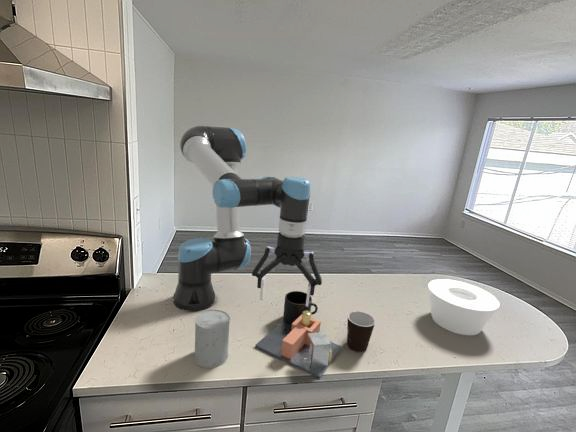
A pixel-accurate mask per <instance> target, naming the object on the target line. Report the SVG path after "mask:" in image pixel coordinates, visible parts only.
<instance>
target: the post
mask: <svg viewBox="0 0 576 432" xmlns="http://www.w3.org/2000/svg"><path fill="white" fill-rule="evenodd" d="M311 312H312V311H311ZM311 312H310V311H303V315H302V324H301V325H303V326H305V327H308V328H310V322H311V318H312V315H311Z"/></svg>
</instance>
